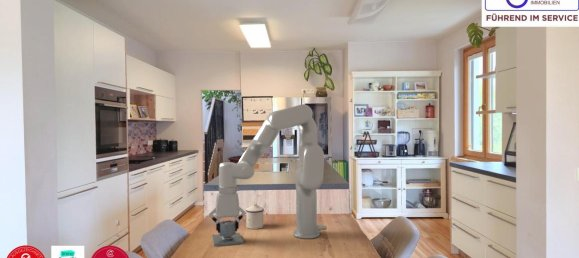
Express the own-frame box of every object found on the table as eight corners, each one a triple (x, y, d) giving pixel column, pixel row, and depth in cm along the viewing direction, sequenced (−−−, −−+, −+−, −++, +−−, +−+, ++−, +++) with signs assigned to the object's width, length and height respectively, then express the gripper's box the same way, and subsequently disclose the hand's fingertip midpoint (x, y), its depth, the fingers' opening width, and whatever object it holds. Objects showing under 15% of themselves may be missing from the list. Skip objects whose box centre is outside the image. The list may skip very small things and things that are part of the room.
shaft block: (239, 235, 152) (239, 218, 152) (243, 243, 140) (243, 225, 140) (212, 237, 148) (212, 220, 148) (214, 246, 137) (214, 227, 137)
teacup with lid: (264, 224, 170) (264, 201, 170) (263, 229, 161) (263, 205, 161) (240, 224, 170) (240, 201, 170) (239, 229, 161) (239, 205, 161)
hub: (234, 231, 148) (234, 219, 148) (236, 235, 142) (236, 223, 142) (218, 232, 146) (218, 221, 147) (220, 236, 140) (220, 225, 140)
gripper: (246, 188, 151) (245, 227, 150) (206, 190, 146) (206, 230, 145) (248, 191, 143) (248, 232, 143) (207, 193, 138) (207, 235, 138)
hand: (227, 230), depth 144 cm, fingers closed on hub, 6 cm apart
